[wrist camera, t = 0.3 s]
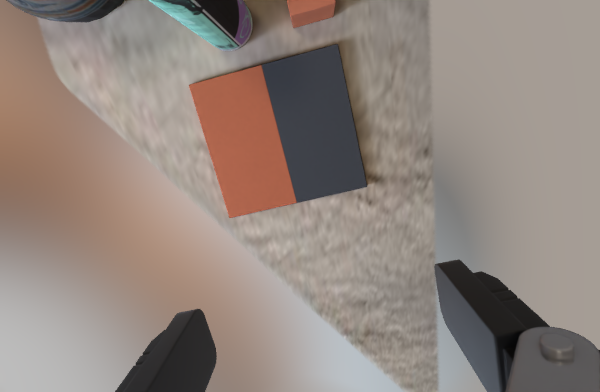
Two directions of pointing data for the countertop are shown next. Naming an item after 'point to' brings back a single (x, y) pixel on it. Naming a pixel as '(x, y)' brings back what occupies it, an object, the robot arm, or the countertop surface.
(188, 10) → the spray can
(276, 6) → the countertop surface
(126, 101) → the countertop surface
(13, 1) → the beer stein
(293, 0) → the terracotta block
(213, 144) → the sorting mat
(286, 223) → the countertop surface
